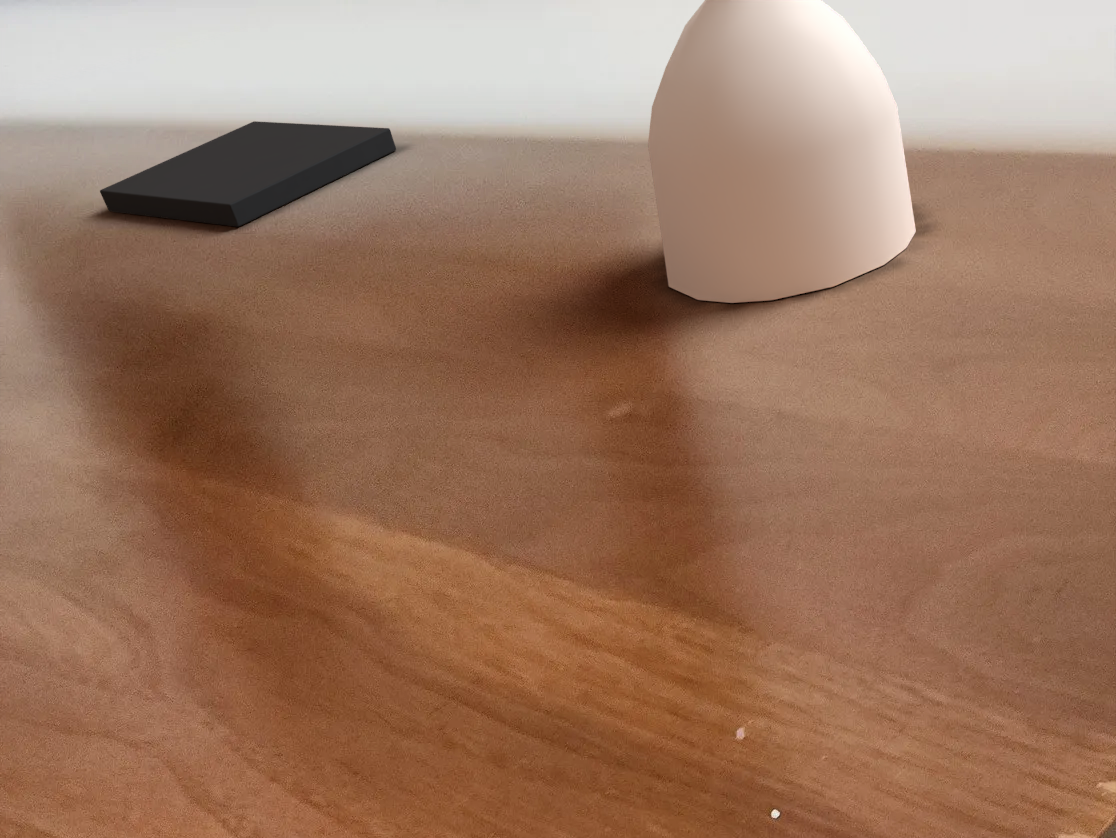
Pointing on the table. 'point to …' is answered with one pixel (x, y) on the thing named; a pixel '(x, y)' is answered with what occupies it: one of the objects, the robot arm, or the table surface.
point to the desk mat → (248, 172)
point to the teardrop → (775, 154)
